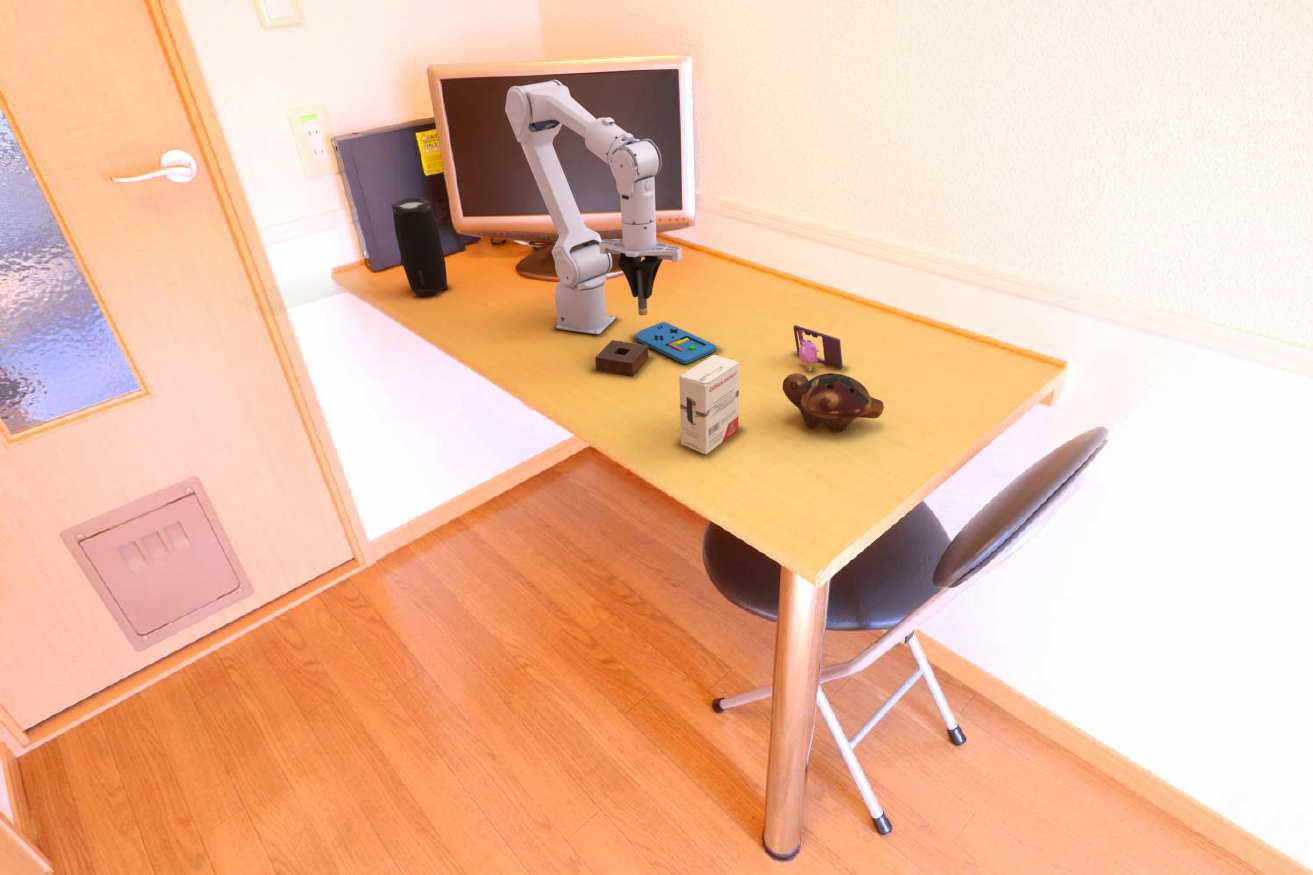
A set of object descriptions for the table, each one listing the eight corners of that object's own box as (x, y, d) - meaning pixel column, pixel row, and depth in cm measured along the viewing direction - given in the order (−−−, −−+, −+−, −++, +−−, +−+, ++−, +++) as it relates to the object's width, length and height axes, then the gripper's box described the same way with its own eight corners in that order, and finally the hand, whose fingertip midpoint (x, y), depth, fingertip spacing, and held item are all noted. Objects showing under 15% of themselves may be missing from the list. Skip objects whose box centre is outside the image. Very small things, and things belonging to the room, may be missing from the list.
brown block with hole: (596, 370, 126) (595, 357, 125) (612, 352, 132) (612, 339, 130) (633, 376, 124) (632, 363, 122) (648, 358, 129) (648, 345, 128)
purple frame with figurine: (842, 336, 119) (796, 322, 124) (825, 356, 117) (779, 341, 122) (845, 365, 124) (800, 350, 129) (829, 384, 122) (784, 368, 127)
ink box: (713, 419, 112) (714, 351, 105) (739, 430, 109) (742, 361, 102) (679, 444, 106) (677, 374, 100) (705, 456, 104) (706, 385, 97)
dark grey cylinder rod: (637, 315, 128) (634, 266, 123) (640, 311, 129) (638, 263, 124) (645, 316, 128) (643, 267, 123) (648, 312, 129) (647, 264, 124)
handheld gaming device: (663, 319, 140) (718, 344, 130) (663, 325, 140) (718, 350, 131) (630, 333, 135) (684, 359, 126) (631, 338, 136) (685, 365, 126)
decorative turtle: (776, 404, 115) (783, 359, 110) (871, 412, 114) (882, 367, 109) (779, 435, 106) (786, 387, 102) (882, 444, 105) (894, 396, 101)
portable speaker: (423, 281, 164) (404, 195, 153) (458, 286, 161) (441, 197, 150) (400, 295, 157) (379, 206, 146) (437, 300, 154) (417, 209, 144)
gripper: (588, 222, 118) (595, 299, 126) (670, 230, 114) (672, 310, 121) (607, 210, 124) (612, 284, 131) (685, 217, 119) (686, 294, 127)
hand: (642, 296), depth 127 cm, fingers closed on dark grey cylinder rod, 1 cm apart
